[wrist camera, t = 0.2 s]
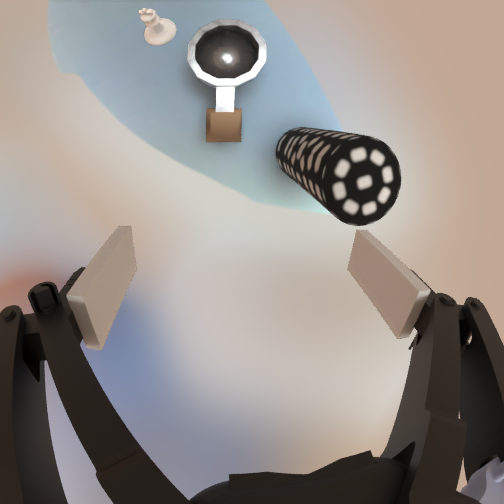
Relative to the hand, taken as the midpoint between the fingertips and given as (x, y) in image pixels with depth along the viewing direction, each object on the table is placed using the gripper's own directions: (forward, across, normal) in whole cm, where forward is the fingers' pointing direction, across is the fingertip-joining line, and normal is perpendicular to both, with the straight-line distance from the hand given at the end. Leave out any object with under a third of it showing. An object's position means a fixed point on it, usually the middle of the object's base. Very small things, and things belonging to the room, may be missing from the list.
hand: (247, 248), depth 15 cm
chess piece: (+28, -12, +22) cm, 37 cm away
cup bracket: (+21, -1, +13) cm, 25 cm away
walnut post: (+28, -1, +6) cm, 28 cm away
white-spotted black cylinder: (+28, +11, +3) cm, 30 cm away
